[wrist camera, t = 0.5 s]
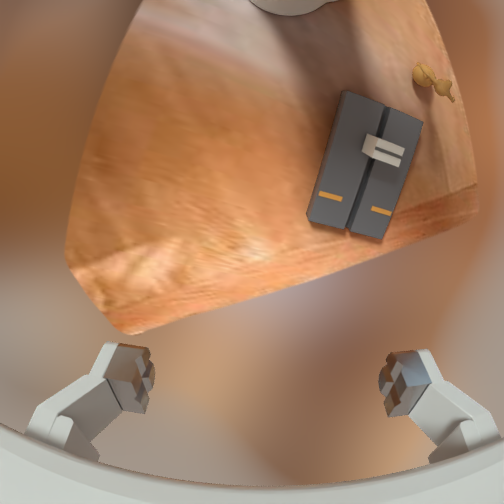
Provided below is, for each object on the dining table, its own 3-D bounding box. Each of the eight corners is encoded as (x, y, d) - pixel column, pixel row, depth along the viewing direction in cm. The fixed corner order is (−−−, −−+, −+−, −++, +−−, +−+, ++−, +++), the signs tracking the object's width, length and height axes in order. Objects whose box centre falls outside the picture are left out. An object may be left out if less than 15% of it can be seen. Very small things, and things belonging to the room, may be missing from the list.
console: (342, 90, 43) (347, 90, 40) (415, 120, 44) (424, 122, 41) (305, 213, 53) (308, 221, 50) (376, 232, 54) (382, 240, 51)
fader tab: (363, 132, 44) (378, 138, 38) (387, 141, 44) (405, 148, 38) (358, 149, 45) (372, 157, 39) (382, 158, 46) (398, 167, 40)
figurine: (439, 83, 40) (479, 86, 30) (424, 107, 43) (462, 114, 32) (405, 52, 38) (442, 45, 28) (389, 76, 41) (423, 74, 30)
